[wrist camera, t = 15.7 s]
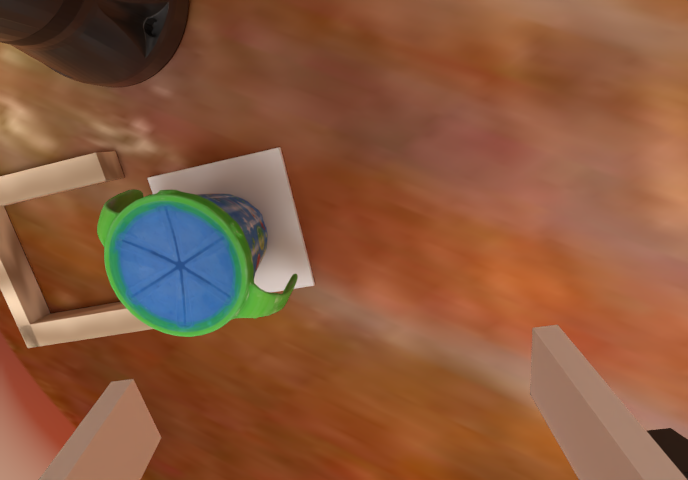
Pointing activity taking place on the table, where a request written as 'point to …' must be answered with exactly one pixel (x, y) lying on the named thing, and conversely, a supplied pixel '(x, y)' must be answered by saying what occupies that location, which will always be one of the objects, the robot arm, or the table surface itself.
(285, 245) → the grey mat
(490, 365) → the table surface
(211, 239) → the snack cup
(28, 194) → the wooden frame
